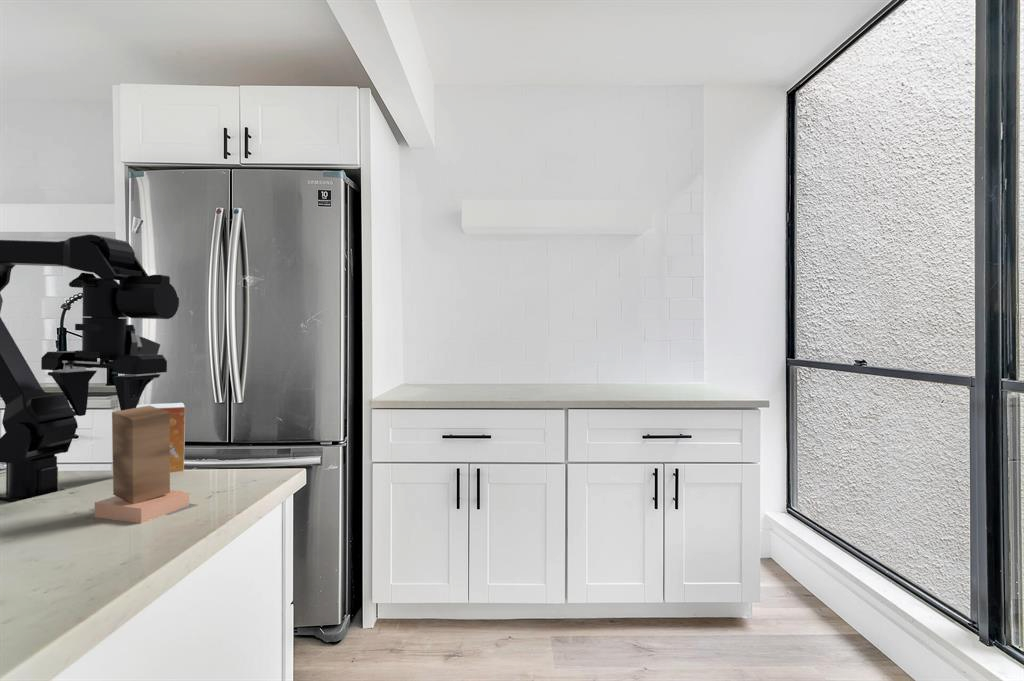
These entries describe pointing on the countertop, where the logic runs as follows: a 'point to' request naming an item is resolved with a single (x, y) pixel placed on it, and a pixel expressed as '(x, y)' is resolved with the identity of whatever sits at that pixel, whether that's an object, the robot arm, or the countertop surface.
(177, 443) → the small box
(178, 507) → the terracotta tile
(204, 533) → the countertop surface
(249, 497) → the countertop surface
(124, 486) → the walnut pillar
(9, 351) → the robot arm
